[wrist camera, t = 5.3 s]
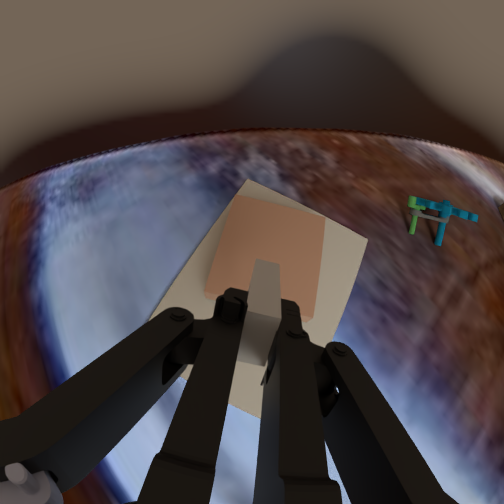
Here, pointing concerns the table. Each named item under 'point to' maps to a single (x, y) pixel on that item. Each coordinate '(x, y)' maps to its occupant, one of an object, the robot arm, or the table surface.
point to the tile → (269, 250)
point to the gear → (443, 216)
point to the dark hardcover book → (502, 210)
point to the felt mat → (318, 328)
